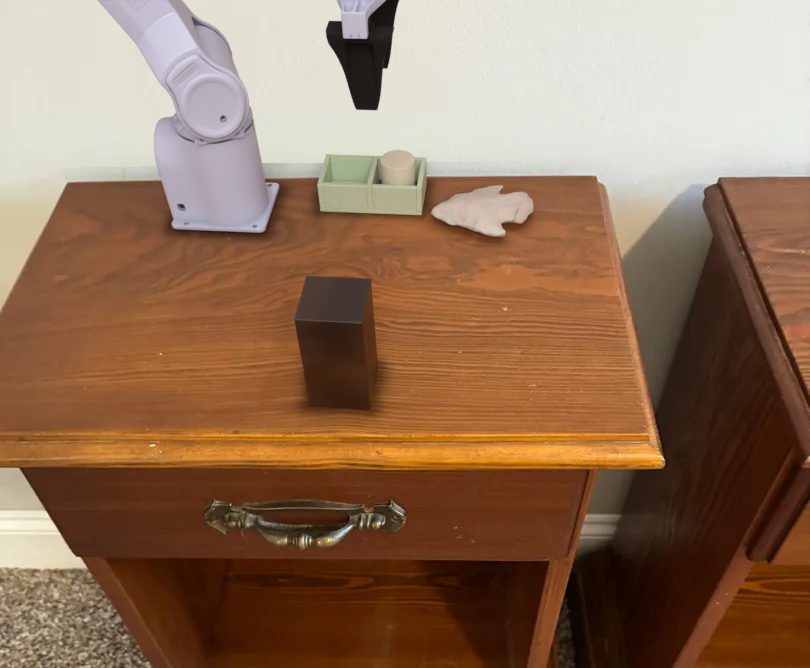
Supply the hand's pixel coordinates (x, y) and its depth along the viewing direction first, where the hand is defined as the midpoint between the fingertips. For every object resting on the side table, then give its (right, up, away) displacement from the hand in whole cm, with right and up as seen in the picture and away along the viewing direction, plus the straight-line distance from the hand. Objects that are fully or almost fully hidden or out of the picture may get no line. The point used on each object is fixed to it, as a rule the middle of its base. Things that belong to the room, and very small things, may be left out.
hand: (372, 86), depth 73 cm
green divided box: (0, -8, +6) cm, 10 cm away
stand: (-2, -30, -9) cm, 31 cm away
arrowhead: (+11, -11, +4) cm, 16 cm away
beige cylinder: (+2, -8, +5) cm, 10 cm away
